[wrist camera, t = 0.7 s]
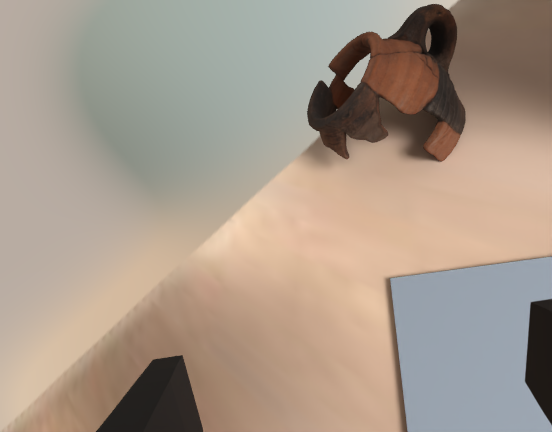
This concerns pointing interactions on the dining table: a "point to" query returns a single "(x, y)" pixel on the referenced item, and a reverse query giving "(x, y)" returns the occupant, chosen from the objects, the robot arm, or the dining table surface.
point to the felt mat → (469, 347)
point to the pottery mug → (393, 84)
